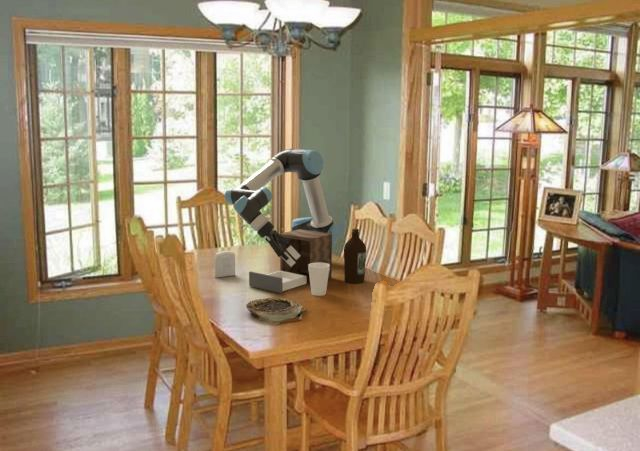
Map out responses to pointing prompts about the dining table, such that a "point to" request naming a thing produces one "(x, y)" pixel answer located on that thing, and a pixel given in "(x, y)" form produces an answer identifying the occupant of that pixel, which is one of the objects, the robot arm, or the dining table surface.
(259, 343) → the dining table surface
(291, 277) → the tray
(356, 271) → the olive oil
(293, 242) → the cabinet
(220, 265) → the photo printer
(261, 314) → the pie
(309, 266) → the foam cup
